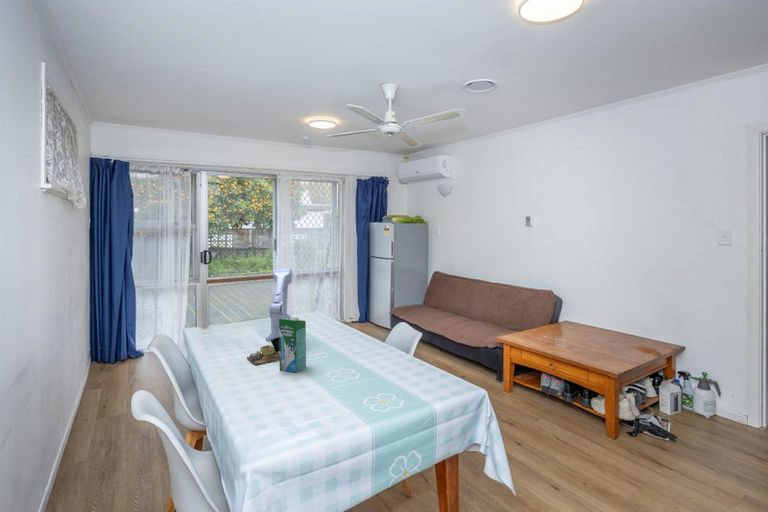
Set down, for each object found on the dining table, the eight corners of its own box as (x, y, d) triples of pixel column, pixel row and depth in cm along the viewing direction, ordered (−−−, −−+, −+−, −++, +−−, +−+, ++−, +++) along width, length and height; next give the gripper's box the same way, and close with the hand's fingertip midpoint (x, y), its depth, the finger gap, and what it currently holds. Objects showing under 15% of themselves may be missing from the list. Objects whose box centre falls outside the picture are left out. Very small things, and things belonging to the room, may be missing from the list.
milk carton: (306, 366, 193) (305, 316, 191) (296, 373, 184) (295, 320, 182) (290, 364, 196) (289, 314, 194) (279, 370, 187) (278, 318, 185)
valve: (272, 354, 207) (272, 343, 206) (275, 356, 204) (275, 345, 203) (258, 357, 202) (258, 346, 202) (261, 359, 199) (261, 348, 199)
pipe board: (276, 352, 212) (276, 343, 212) (286, 359, 203) (286, 349, 203) (247, 358, 203) (246, 349, 202) (255, 365, 193) (255, 355, 193)
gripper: (280, 321, 213) (280, 346, 214) (260, 328, 200) (261, 354, 201) (290, 323, 210) (290, 348, 211) (271, 330, 197) (272, 356, 198)
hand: (277, 351), depth 206 cm, fingers closed
